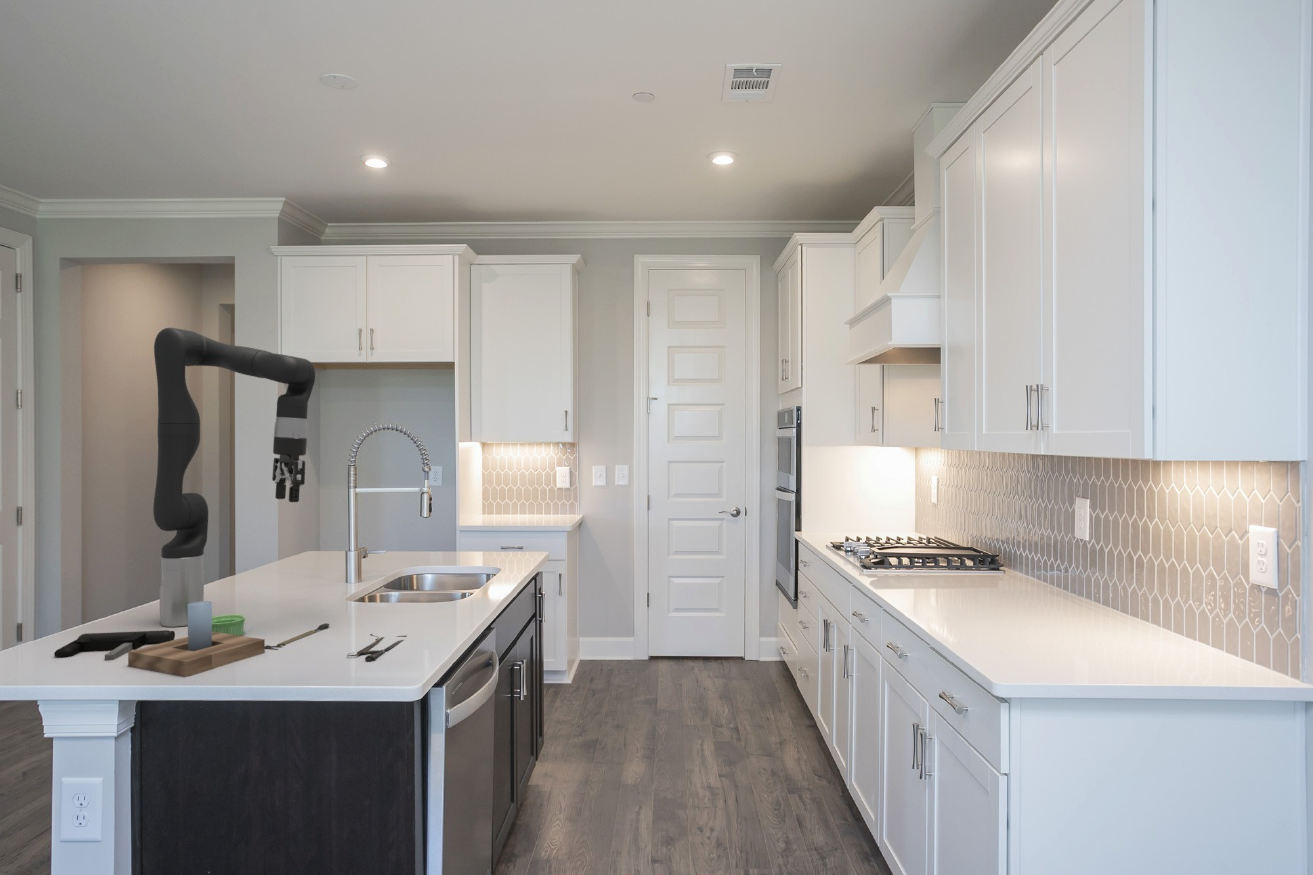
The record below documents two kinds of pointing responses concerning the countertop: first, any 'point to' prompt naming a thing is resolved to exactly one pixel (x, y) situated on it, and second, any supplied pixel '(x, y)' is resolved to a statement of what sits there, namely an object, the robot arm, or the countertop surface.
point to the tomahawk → (297, 637)
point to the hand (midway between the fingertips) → (286, 500)
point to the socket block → (195, 654)
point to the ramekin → (228, 624)
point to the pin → (199, 625)
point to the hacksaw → (376, 652)
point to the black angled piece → (114, 642)
